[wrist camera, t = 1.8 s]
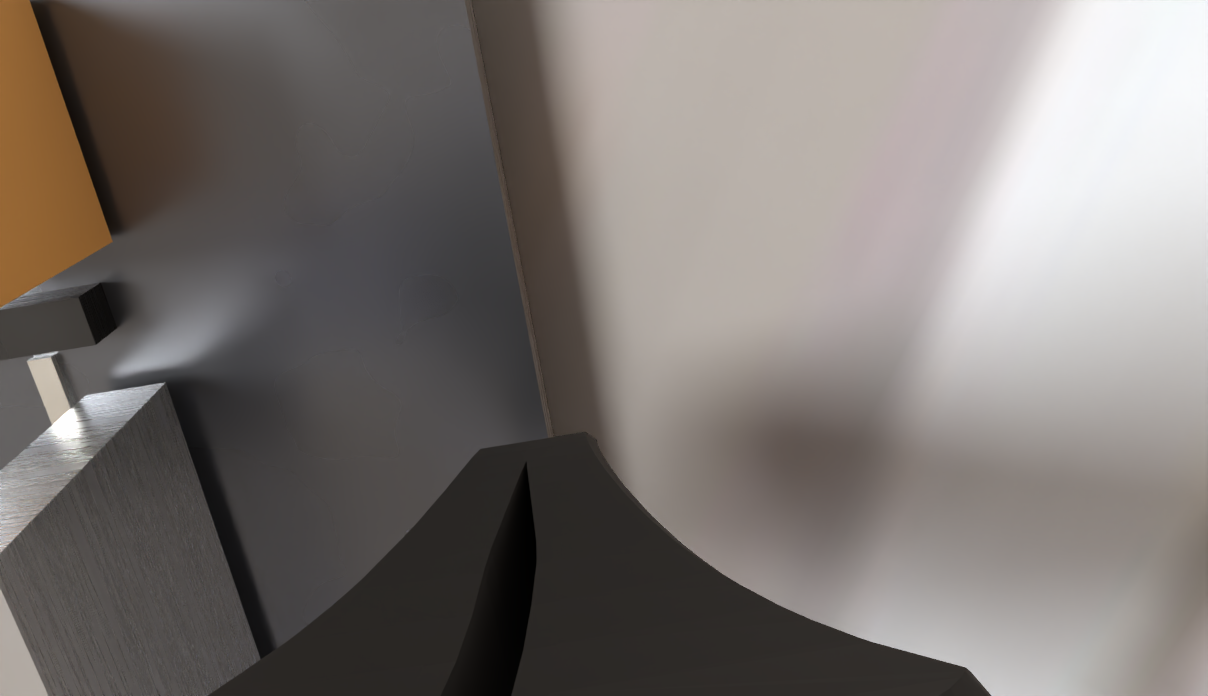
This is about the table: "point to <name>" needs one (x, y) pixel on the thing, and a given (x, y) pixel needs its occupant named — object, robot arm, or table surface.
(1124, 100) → the table surface
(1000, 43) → the table surface
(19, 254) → the fader
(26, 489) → the gate
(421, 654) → the robot arm
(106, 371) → the console
